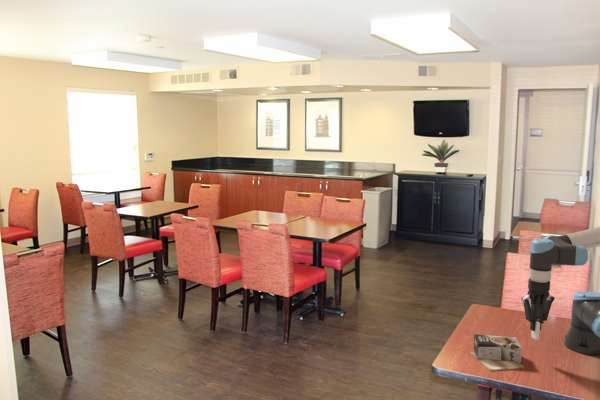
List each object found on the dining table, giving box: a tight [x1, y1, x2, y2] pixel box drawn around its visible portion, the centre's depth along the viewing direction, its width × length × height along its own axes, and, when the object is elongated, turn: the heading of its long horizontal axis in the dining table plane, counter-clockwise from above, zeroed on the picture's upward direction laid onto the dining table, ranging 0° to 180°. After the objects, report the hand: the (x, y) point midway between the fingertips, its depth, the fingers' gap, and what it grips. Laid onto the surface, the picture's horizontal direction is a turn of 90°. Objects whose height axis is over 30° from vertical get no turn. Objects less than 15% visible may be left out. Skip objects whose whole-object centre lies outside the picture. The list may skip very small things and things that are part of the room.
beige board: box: [470, 351, 525, 372], centre depth 194 cm, size 14×14×1 cm
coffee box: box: [473, 334, 523, 363], centre depth 197 cm, size 9×6×16 cm
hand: (534, 338), depth 195 cm, fingers closed
